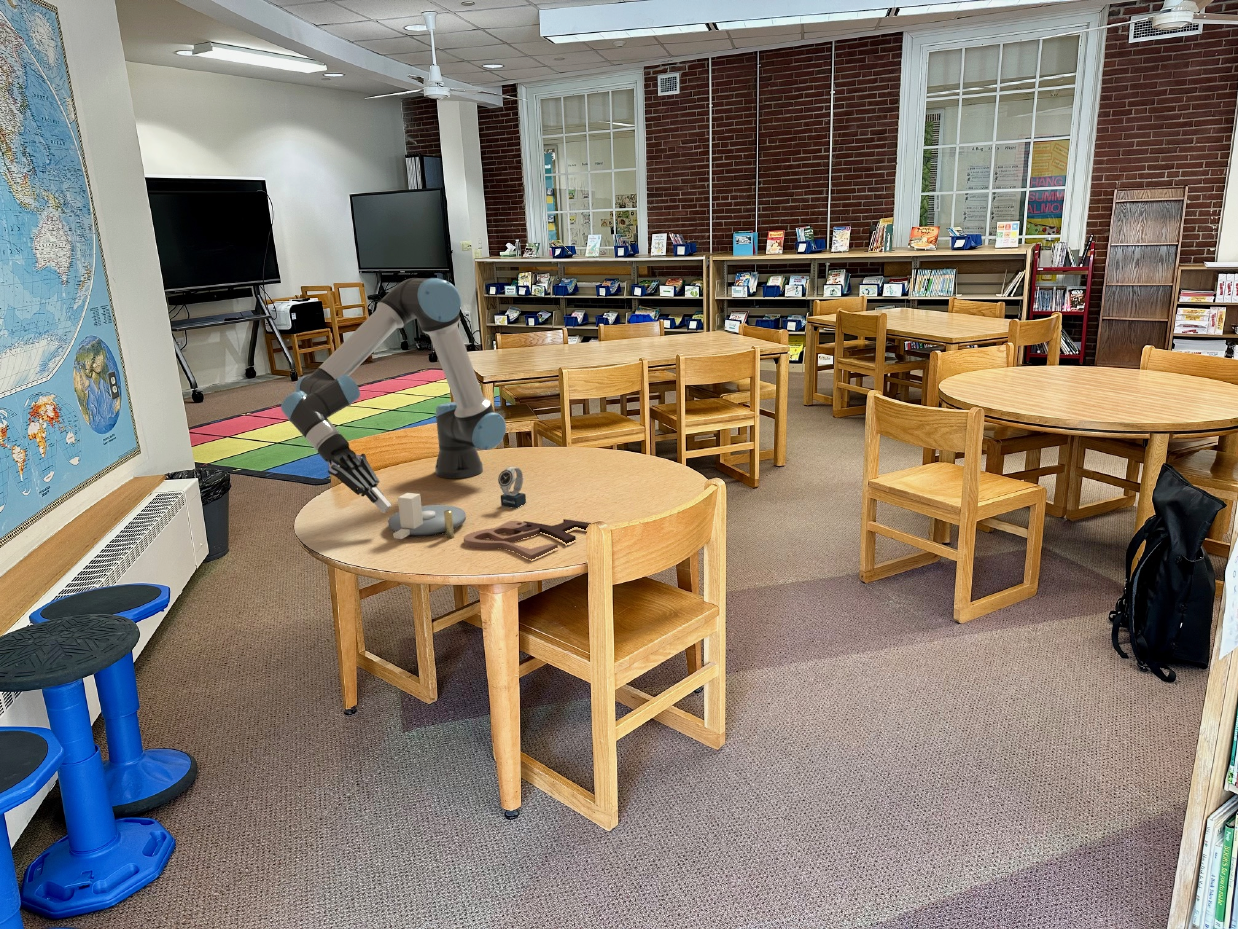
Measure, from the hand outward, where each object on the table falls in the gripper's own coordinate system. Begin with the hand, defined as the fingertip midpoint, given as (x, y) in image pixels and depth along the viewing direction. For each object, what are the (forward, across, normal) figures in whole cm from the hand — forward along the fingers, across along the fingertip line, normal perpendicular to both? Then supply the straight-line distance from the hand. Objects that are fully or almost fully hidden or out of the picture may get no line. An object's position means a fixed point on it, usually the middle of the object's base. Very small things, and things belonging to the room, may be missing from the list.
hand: (387, 509), depth 217 cm
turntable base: (+9, -7, 0) cm, 12 cm away
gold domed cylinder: (+17, -2, +8) cm, 18 cm away
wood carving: (+31, -9, +21) cm, 39 cm away
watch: (+19, -30, +9) cm, 37 cm away
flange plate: (+8, -6, +1) cm, 10 cm away
